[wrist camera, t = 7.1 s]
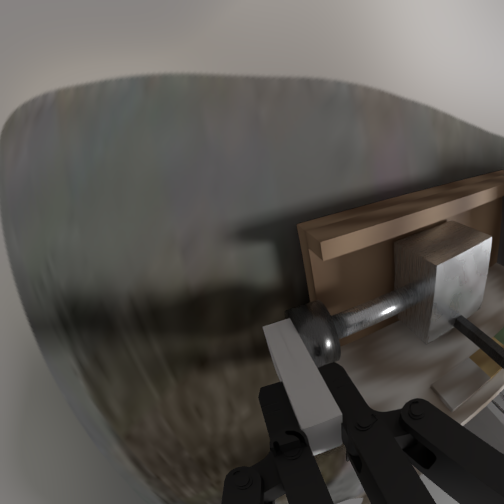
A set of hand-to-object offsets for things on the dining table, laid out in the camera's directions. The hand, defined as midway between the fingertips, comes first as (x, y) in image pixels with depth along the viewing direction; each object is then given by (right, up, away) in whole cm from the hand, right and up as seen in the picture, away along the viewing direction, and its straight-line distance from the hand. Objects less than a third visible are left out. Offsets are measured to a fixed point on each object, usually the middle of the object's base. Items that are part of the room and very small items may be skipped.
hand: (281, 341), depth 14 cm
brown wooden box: (+14, +5, +4) cm, 15 cm away
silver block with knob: (+7, +3, +2) cm, 8 cm away
